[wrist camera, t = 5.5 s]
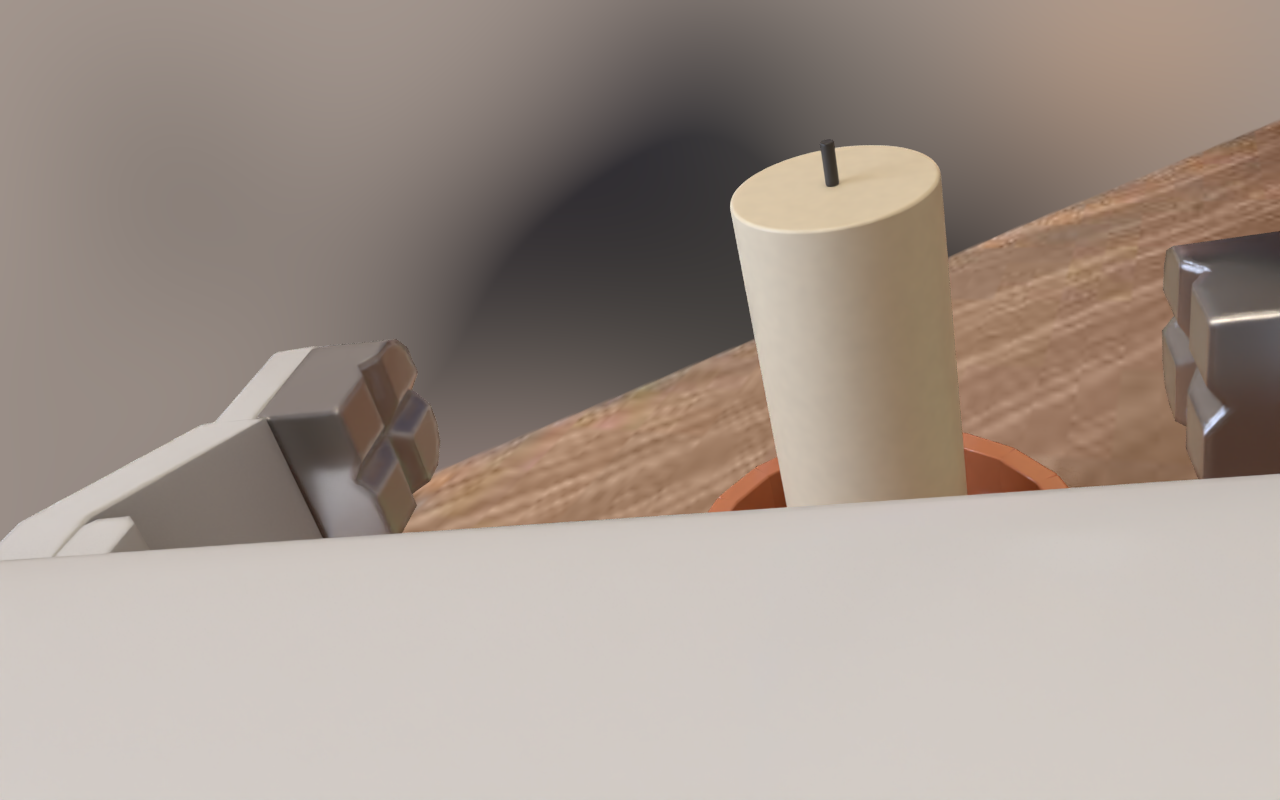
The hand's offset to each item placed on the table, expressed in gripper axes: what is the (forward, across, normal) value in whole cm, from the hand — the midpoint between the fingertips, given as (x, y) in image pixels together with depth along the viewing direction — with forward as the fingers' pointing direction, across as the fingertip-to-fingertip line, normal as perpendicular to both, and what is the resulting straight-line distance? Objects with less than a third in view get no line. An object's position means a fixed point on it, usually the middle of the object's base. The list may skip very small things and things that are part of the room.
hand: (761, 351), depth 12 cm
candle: (+13, 0, +18) cm, 22 cm away
